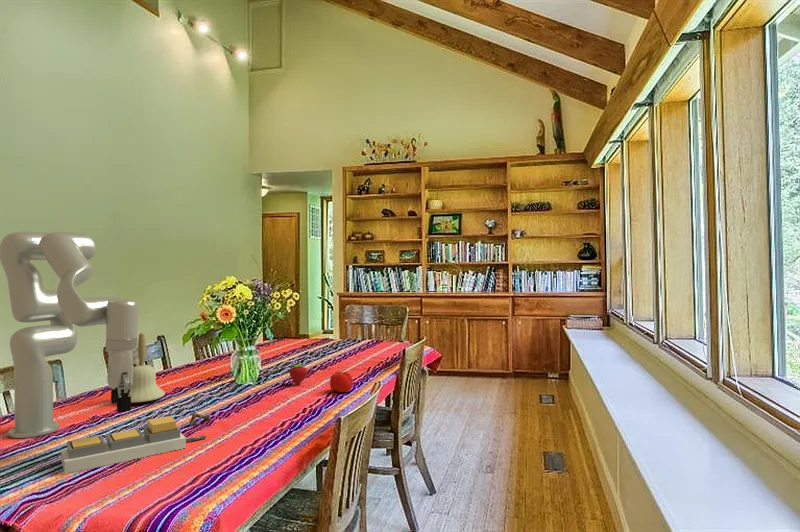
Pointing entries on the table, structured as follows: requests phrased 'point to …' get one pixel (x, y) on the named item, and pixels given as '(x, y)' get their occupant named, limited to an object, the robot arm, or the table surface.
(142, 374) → the handbell
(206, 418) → the wooden post with brackets
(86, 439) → the button left
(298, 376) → the strawberry
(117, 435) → the button middle
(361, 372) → the table surface
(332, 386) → the tomato
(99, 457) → the strip
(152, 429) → the button right
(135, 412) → the table surface
